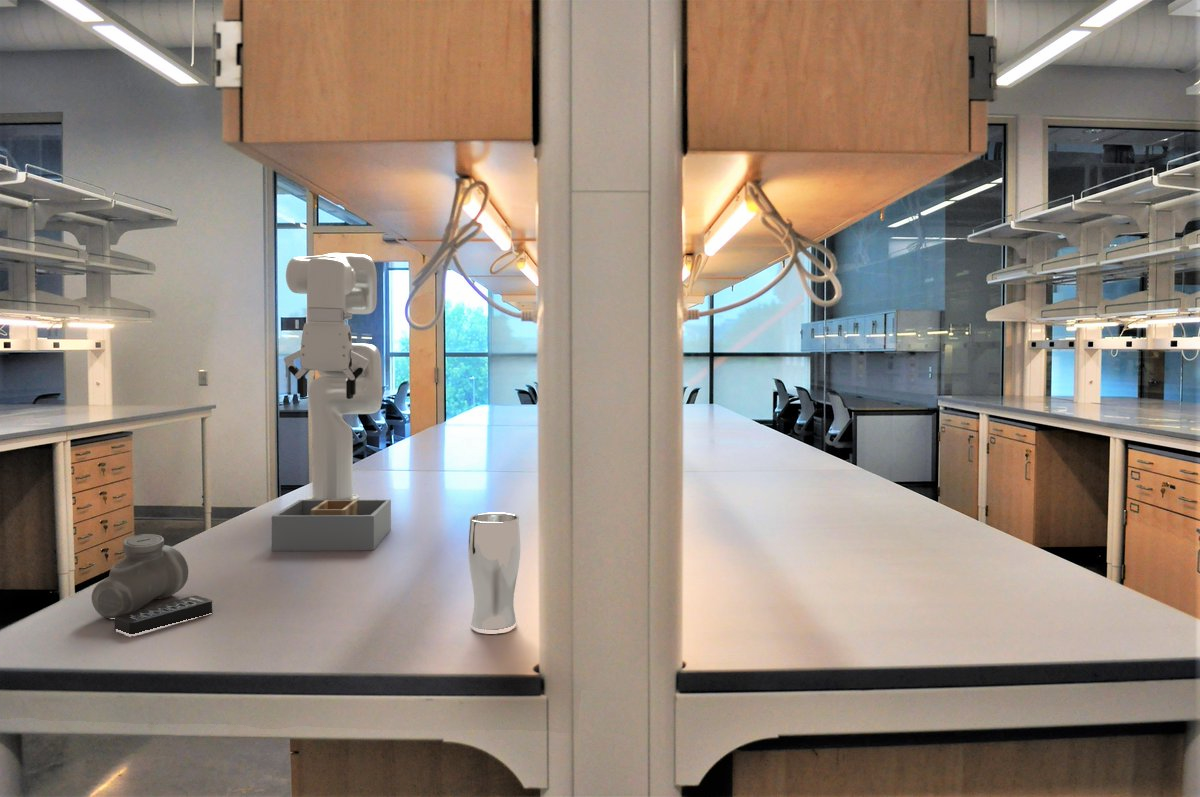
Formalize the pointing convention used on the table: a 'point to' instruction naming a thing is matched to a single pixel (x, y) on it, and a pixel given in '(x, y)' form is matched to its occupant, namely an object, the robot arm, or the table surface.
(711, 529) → the table surface
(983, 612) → the table surface
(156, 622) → the multiport hub
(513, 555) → the beer glass
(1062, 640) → the table surface
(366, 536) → the box
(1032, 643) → the table surface
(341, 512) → the oak crate
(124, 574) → the pipe fitting
